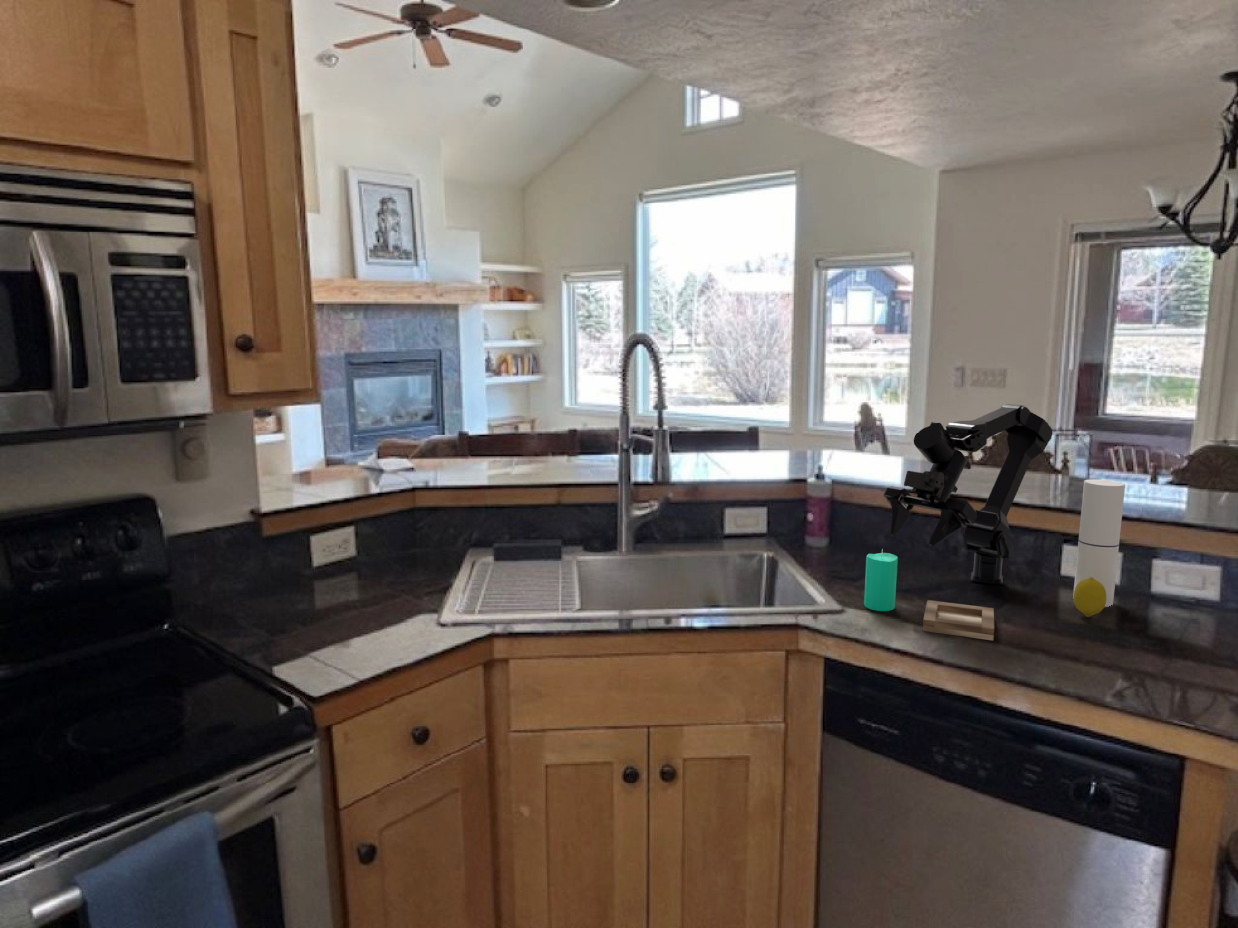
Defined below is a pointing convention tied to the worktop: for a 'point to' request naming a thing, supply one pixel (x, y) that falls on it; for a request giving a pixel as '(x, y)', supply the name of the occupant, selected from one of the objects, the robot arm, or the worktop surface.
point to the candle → (880, 581)
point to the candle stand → (959, 620)
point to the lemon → (1089, 597)
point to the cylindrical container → (1100, 533)
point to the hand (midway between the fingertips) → (910, 540)
